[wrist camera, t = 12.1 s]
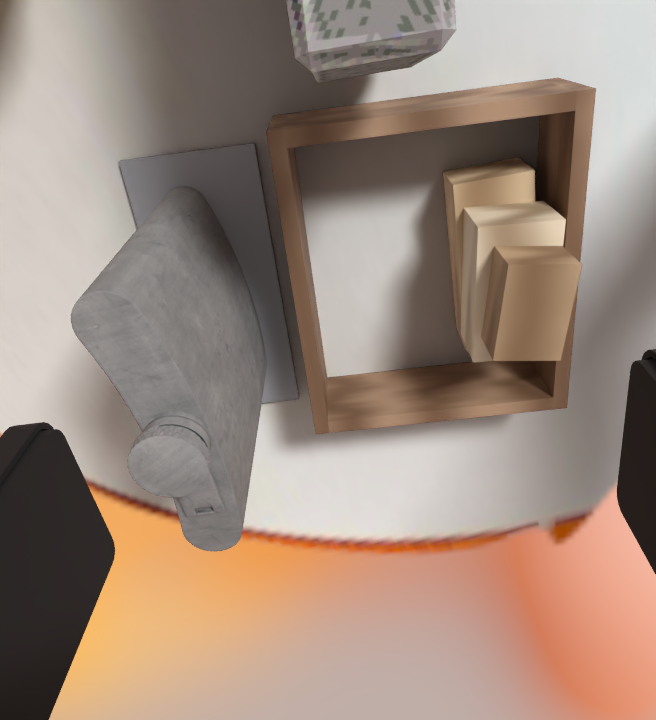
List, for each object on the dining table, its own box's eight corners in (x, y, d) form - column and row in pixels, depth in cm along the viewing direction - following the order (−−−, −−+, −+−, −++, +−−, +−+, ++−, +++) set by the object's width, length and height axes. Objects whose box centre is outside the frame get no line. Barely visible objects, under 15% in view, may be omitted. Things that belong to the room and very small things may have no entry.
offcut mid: (543, 200, 38) (565, 219, 35) (532, 328, 42) (551, 356, 39) (463, 207, 38) (478, 227, 35) (460, 334, 43) (473, 362, 39)
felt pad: (254, 142, 40) (253, 144, 39) (299, 396, 50) (298, 399, 49) (120, 160, 40) (118, 161, 40) (191, 408, 50) (190, 410, 50)
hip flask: (155, 193, 41) (32, 328, 23) (212, 177, 40) (130, 303, 23) (234, 385, 48) (186, 594, 31) (282, 374, 48) (261, 580, 31)
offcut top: (562, 245, 35) (582, 264, 33) (544, 336, 38) (560, 360, 36) (494, 246, 35) (508, 264, 33) (481, 337, 38) (493, 361, 36)
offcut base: (516, 156, 41) (534, 170, 37) (520, 315, 46) (536, 340, 43) (441, 170, 41) (452, 184, 37) (455, 326, 47) (466, 351, 43)
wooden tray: (558, 77, 38) (595, 88, 33) (540, 365, 48) (566, 407, 43) (273, 115, 39) (266, 131, 34) (316, 389, 49) (315, 434, 44)
